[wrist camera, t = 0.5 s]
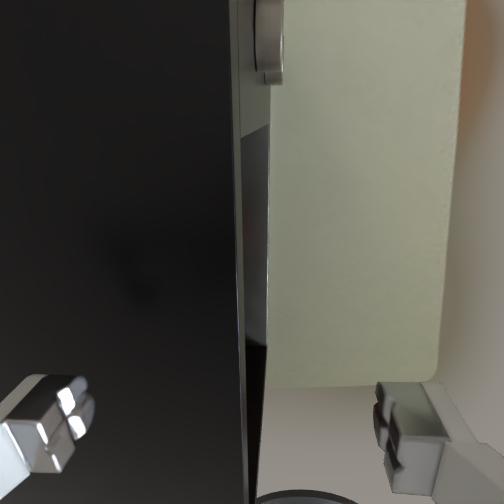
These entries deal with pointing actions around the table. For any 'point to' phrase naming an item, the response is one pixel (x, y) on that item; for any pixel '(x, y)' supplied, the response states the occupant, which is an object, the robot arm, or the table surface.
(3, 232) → the toaster oven
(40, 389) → the robot arm
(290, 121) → the table surface
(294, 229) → the table surface
